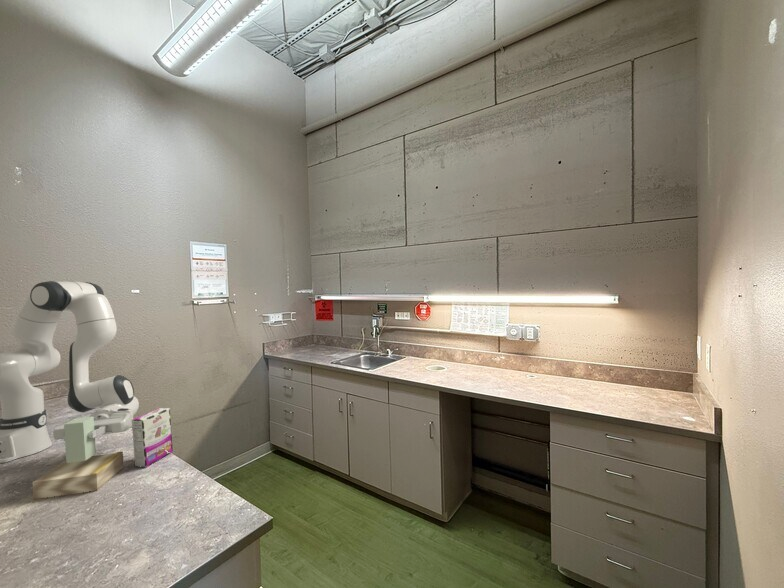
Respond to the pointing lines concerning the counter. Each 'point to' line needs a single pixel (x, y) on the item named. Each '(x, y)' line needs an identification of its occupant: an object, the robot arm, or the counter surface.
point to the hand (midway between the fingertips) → (78, 437)
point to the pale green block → (79, 439)
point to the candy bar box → (152, 436)
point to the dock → (78, 476)
